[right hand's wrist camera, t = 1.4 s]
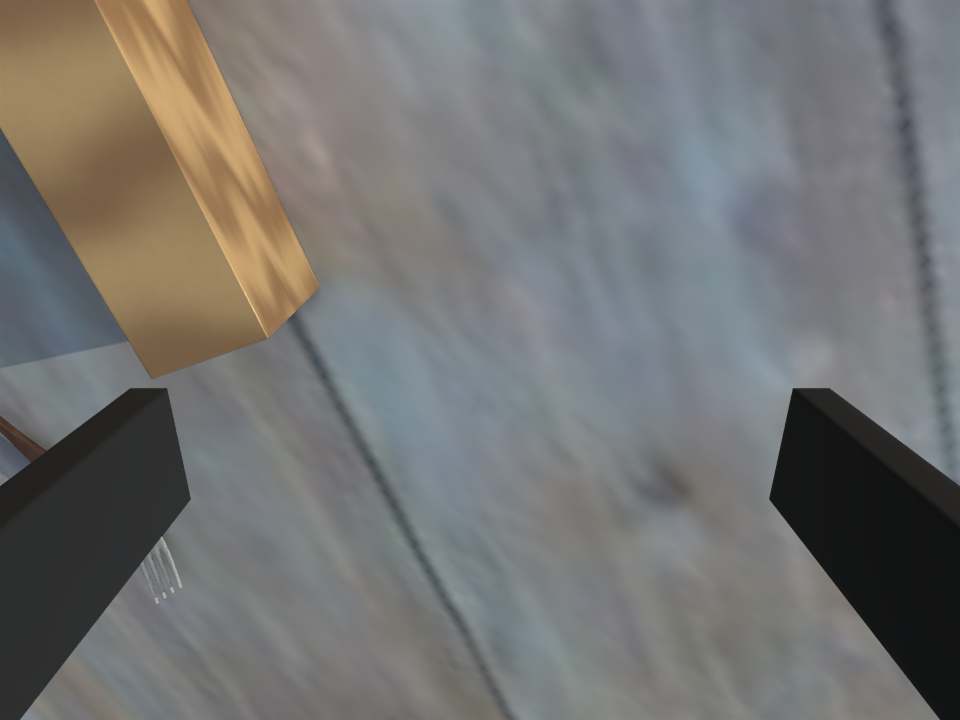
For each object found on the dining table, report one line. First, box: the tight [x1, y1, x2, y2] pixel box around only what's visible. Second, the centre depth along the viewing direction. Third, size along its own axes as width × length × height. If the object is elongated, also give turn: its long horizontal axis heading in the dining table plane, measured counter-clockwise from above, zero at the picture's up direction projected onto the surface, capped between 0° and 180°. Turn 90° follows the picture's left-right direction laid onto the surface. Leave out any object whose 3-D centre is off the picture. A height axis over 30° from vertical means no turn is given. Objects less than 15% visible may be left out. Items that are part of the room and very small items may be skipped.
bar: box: [0, 0, 319, 379], centre depth 24 cm, size 24×6×8 cm, turn 19°
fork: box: [0, 416, 182, 604], centre depth 35 cm, size 3×16×2 cm, turn 36°
